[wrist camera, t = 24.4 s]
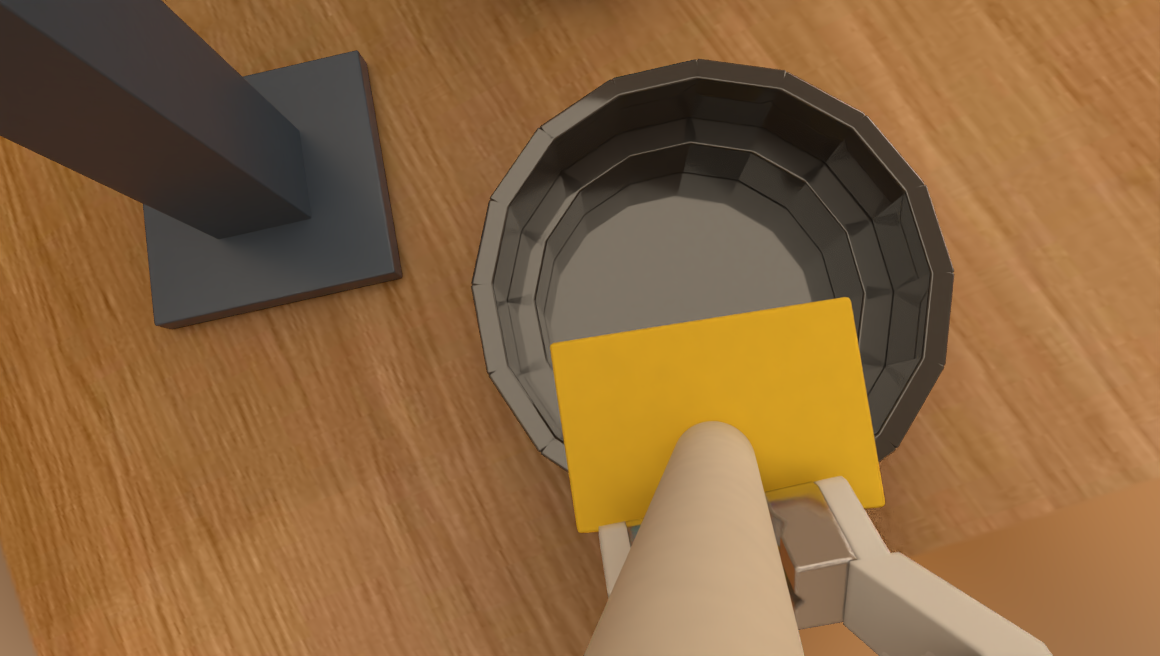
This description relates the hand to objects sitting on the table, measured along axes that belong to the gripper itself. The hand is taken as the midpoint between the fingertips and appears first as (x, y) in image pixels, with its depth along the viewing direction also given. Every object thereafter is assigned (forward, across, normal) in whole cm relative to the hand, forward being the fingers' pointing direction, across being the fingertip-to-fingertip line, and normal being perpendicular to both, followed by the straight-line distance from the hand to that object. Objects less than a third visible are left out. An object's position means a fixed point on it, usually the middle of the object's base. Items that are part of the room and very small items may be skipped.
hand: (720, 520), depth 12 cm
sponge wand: (-2, -1, +1) cm, 3 cm away
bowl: (+13, +2, -5) cm, 14 cm away
